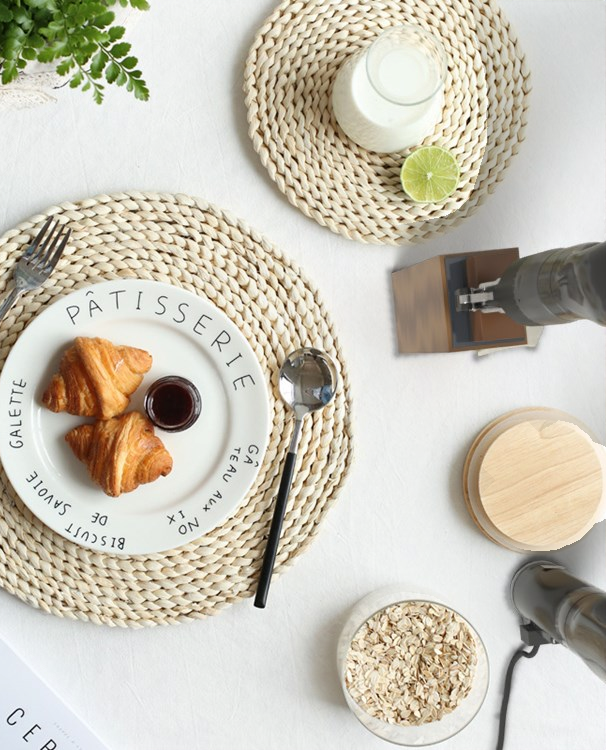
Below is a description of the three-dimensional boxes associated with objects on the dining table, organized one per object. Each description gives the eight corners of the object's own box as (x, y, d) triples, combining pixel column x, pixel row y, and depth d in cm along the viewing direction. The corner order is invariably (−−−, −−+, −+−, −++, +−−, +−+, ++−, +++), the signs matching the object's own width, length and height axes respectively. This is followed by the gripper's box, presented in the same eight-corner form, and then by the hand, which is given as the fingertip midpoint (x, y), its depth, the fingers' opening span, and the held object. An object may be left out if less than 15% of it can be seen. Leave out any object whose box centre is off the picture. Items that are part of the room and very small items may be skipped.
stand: (464, 347, 124) (527, 344, 102) (399, 353, 123) (448, 352, 101) (456, 267, 123) (518, 247, 101) (391, 273, 123) (439, 254, 101)
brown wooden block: (508, 337, 101) (524, 336, 97) (469, 342, 101) (483, 341, 96) (500, 256, 101) (516, 251, 96) (461, 260, 100) (474, 255, 96)
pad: (523, 340, 102) (525, 340, 101) (452, 348, 101) (453, 348, 101) (515, 251, 101) (516, 251, 101) (443, 258, 101) (444, 258, 100)
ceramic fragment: (549, 298, 124) (561, 296, 120) (565, 328, 125) (577, 327, 121) (470, 344, 124) (479, 344, 120) (486, 374, 124) (496, 375, 120)
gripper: (485, 332, 83) (431, 336, 100) (622, 317, 84) (546, 324, 101) (478, 257, 83) (425, 274, 100) (615, 244, 84) (540, 263, 101)
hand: (486, 299), depth 100 cm, fingers closed on brown wooden block, 5 cm apart
